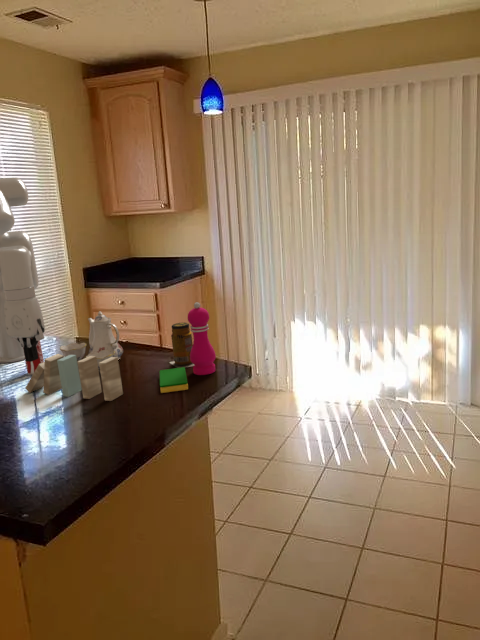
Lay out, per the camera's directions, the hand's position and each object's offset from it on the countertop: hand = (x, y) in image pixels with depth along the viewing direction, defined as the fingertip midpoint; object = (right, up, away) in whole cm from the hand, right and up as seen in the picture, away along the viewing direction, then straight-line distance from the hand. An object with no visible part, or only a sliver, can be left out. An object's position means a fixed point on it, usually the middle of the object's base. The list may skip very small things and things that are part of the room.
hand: (32, 360), depth 155 cm
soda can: (-6, -5, +19) cm, 21 cm away
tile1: (0, -8, +2) cm, 8 cm away
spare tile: (+12, -9, -3) cm, 15 cm away
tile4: (+18, -9, -7) cm, 21 cm away
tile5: (+25, -9, -10) cm, 28 cm away
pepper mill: (+47, -4, +4) cm, 47 cm away
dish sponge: (+39, -7, -3) cm, 40 cm away
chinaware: (+12, -3, +24) cm, 27 cm away
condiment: (+41, -2, +14) cm, 43 cm away
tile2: (+6, -8, 0) cm, 10 cm away
